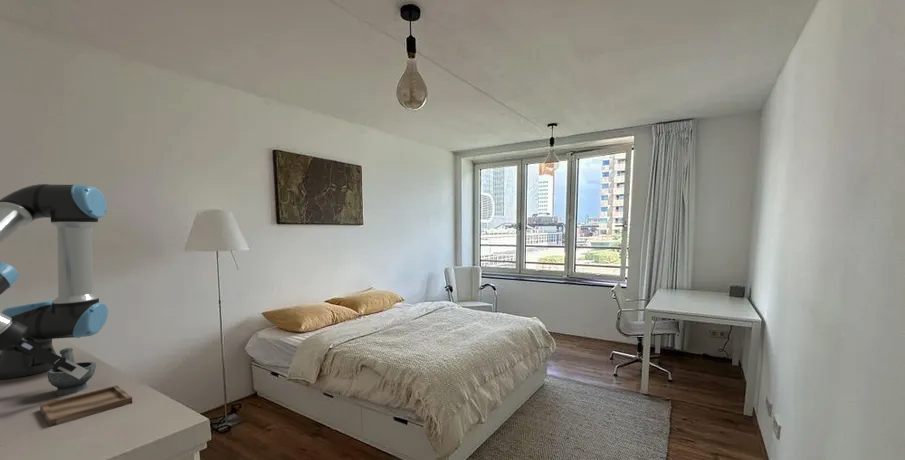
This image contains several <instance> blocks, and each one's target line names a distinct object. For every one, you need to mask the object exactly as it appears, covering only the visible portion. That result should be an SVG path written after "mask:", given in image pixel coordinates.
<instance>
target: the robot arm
mask: <svg viewBox="0 0 905 460" xmlns="http://www.w3.org/2000/svg"><path fill="white" fill-rule="evenodd" d="M107 209H108V205H107V200H106V198H105V196H104V194H103V193H102V192H101V190H99V189H98V187H97V188H96V187H95V186H93V185H85V184H47V183H42V184H41V183H39V184H32V185H29V186H25V187H23V188H20V189H17V190H14V191H13V192H11V193H9V194H7V195H6V196H3V197H2V198H0V245H1V244H2V243H4V241H6V240H7V239H8V238H9V237H10V236H11V235H12V234H13V233H15V232H16V231H17V230H18V229H19V228H20V227H21V226H22V227H23V226H27V225H29V224H31V223H32V222H33V221H35V220H37V219H45V218H48V219H49V218H50V224H51V225H53V226H55V227H56V228H57V232H56V233H57V235H56V236H57V239H56V240H57V282H58V283H57V294H58V295H57V297H56V298H55V299H53V300H47V301H40V302H33V303H27V304H22V305H17V306H16V305H15V306H10V307H6V308H5V309H3V310H2V311H0V380H5V379H14V378H21V377H27V376H31V375H37V374H40V373H44V372H48V371H49V370H51V369H53V370H56V369H60V370H62V371H64V372H66V373H68V374H70V375H72V376H74V377H76V378H78V379H80V378H81V377H83V376H84V375H85V374H86V373H87V372H88V371H89V370H87V369H85V368H83V367H81V366H79V365H77V364H75V363H76V362H75V363H73V362H71V361H69V360H67V359H66V358H62V357H61V356H60V355H58V354H57V352H56V350H55V348H54V346H53V340H57V339H69V338H70V339H71V338H73V339H74V338H75V339H76V338H77V339H80V338H85V337H92V336H94V335H96V334H98V333H99V332H100V331H101V330H102V329H103V327H104V326H105V324H106V322H107V319H108V317H109V308H108V306H107V305H106V304H105V303H103V302H100V297H99V296H98V294H95V293H94V270H93V269H94V265H93V264H94V260H93V259H94V258H93V252H94V250H93V247H94V246H93V245H94V244H93V228H94V227H95V226H96V225H97V224H99V219H100V218H103V217H104V216H105V215H106V212H107ZM19 274H20V273H19V271H18V270H17V269H16V267H14V266H12V265H11V264H8V263H6V262H1V261H0V296H1V295H2V294H3V293H4V292H6V291H7V290H8V289H9V288H11V286H12V285H14V283H15V282H16V281H17V280H18V279H19V276H20V275H19Z"/></svg>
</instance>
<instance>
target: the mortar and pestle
mask: <svg viewBox="0 0 905 460" xmlns="http://www.w3.org/2000/svg"><path fill="white" fill-rule="evenodd" d="M73 352H74V348H73V347H66V348H63V349H61V350H60V351H59V354H60V355H61V357H62V358H66V359H67V360H69V361H71V362H73V363H75V364H77V365H79V366H81V367H83V368H85V369H87V370H89V371H88V372H87V373H86V374H85V375H84V376H83V377H81V378H80V379H78V378H76V377H74V376H72V375H70V374H68V373H66V372H64V371H62V370H60V369H56V370H53V369H51V370H48V371H47V380H48V382H49V384H50V385H51V386H52V387H54V388H56V393H55V394H56V395H58V396H62V395H71V394H74V393H79V392H82V391H84V390H86V389H87V388H88V384H87V382H88V381H89V380H91V379H92V377H93V376H94V374H95V372H96V362H94V361H82V362H81V361H79V362H76V361H75V356H74V354H73Z"/></svg>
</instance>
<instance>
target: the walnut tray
mask: <svg viewBox="0 0 905 460" xmlns="http://www.w3.org/2000/svg"><path fill="white" fill-rule="evenodd" d="M129 403H130V404H133V396H131V395H130V394H129V393H128V392H126V391H125V390H123V389H122V388H121V387H120V386H118V385H112V386H108V387H105V388H104V387H103V388H101V389H96V390H93V391H89V392H88V391H87V392H84V393H81V394H77V395H73V396H69V397H64V398H62V399H57V400H53V401H48V402H45V403H41V404H40V406H39V409H40V412H41V414H42V416H43V415H44V416H43V417H44V419H45V421H46V423H47V424H48V425H49V427H54V426H57V425H61V424H64V423H67V422H71V421H73V420H78V419H81V418H85V417H88V416H92V415H96V414H98V413H102V412H106V411H109V410H112V409H115V408H116V409H117V408H119V407H122V406H127V405H130V404H129ZM126 404H127V405H126Z"/></svg>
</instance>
